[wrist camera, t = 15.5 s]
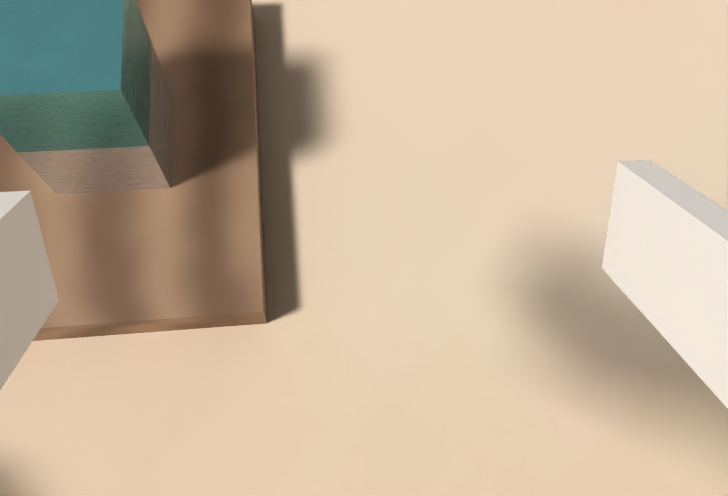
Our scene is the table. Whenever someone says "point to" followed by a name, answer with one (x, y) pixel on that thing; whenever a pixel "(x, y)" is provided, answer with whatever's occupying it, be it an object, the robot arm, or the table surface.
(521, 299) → the table surface
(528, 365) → the table surface
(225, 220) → the walnut stand
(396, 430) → the table surface
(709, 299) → the robot arm
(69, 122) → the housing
